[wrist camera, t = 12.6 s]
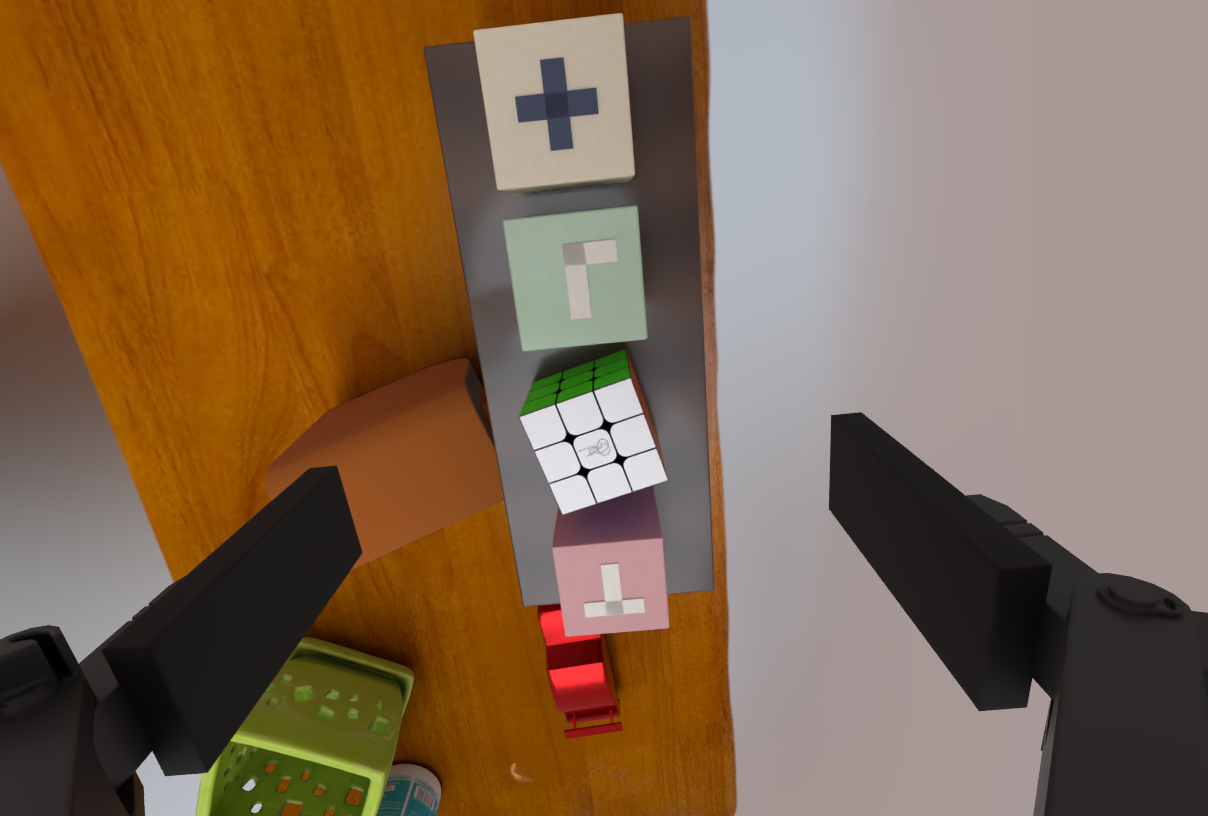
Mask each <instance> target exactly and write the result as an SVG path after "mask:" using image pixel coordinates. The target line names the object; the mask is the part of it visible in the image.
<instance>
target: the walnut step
mask: <svg viewBox="0 0 1208 816" xmlns="http://www.w3.org/2000/svg"><path fill="white" fill-rule="evenodd" d="M624 35H625V48H626V61H627V74H628V87H629V100H630V113H631V127H632V140H633V153H634V166H635V175H634V176H633V177H632V179H631V180H630V181H629V182H624V183H615V184H606V185H596V186H587V187H578V188H569V189H559V190H550V191H541V192H531V193H522V194H516V193H510V192H505V191H500V190H498V189H497V185H496V178H495V172H494V165H493V159H492V152H491V146H490V139H489V132H488V126H487V119H486V113H485V106H484V100H483V93H482V86H481V80H480V73H479V67H478V60H477V54H476V47H475V41H470V42H462V43H453V44H445V45H436V46H428V47H424V55H425V60H426V66H427V71H428V77H429V82H430V88H431V94H432V99H433V105H434V110H435V116H436V122H437V127H438V133H439V138H440V144H441V150H442V155H443V161H444V166H445V172H446V178H447V183H448V189H449V194H450V200H451V206H452V211H453V217H454V222H455V228H456V233H457V239H458V245H459V250H460V256H461V261H462V267H463V273H464V278H465V284H466V289H467V295H468V301H469V306H470V312H471V317H472V323H473V329H474V334H475V340H476V345H477V351H478V357H479V362H480V368H481V373H482V379H483V384H484V390H485V396H486V401H487V407H488V412H489V418H490V424H491V429H492V435H493V440H494V446H495V452H496V457H497V463H498V468H499V474H500V480H501V485H502V491H503V496H504V502H505V507H506V513H507V519H508V524H509V530H510V535H511V541H512V547H513V552H514V558H515V563H516V569H517V575H518V580H519V586H520V591H521V597H522V603H523V606H524V607H526V606H538V605H550V604H560V598H559V592H558V585H557V579H556V572H555V565H554V559H553V552H552V544H553V537H554V530H555V524H556V517H557V510H558V505H557V502H556V500H555V498H554V496H553V493H552V491H551V489H550V487H549V483H548V482H547V480H546V478H545V475H544V473H543V471H542V469H541V466H540V464H539V462H538V460H537V457H536V455H535V453H534V450H533V448H532V446H531V444H530V442H529V439H528V437H527V435H526V433H525V430H524V428H523V426H522V424H521V421H520V419H519V415H520V412H521V410H522V407H523V405H524V402H525V400H526V397H527V395H528V393H529V390H530V388H531V385H532V383H533V382H535V381H538V380H541V379H544V378H546V377H549V376H552V375H555V374H558V373H560V372H564V371H566V370H569V369H572V368H574V367H577V366H580V365H583V364H586V363H588V362H591V361H595V360H597V359H599V358H602V357H605V356H608V355H611V354H613V353H616V352H619V351H622V350H625V349H626V350H627V352H628V355H629V358H630V360H631V363H632V366H633V369H634V372H635V374H636V377H637V380H638V383H639V385H640V388H641V391H642V394H643V396H644V399H645V402H646V405H647V407H648V410H649V413H650V416H651V419H652V421H653V424H654V427H655V430H656V432H657V435H658V438H659V442H660V447H661V451H662V455H663V459H664V463H665V467H666V471H667V475H668V479H669V480H668V481H665V482H662V483H659V484H656V485H653V486H650V487H654V492H655V498H656V503H657V509H658V514H659V520H660V525H661V530H662V536H663V546H664V559H665V572H666V585H667V594H679V593H690V592H702V591H713V590H714V565H713V542H712V518H711V495H710V471H709V448H708V424H707V401H706V377H705V354H704V330H703V307H702V283H701V260H700V236H699V213H698V190H697V166H696V143H695V119H694V96H693V72H692V49H691V25H690V17H689V16H685V17H676V18H668V19H659V20H651V21H642V22H634V23H625V24H624ZM634 205H635V206H637V207H638V217H639V230H640V243H641V256H642V269H643V282H644V296H645V309H646V322H647V335H648V337H647V339H645V340H635V341H625V342H615V343H605V344H595V345H585V346H575V347H564V348H554V349H544V350H534V351H522V347H521V341H520V334H519V328H518V321H517V315H516V308H515V301H514V295H513V288H512V282H511V275H510V268H509V262H508V255H507V249H506V242H505V236H504V229H503V220H504V219H512V218H522V217H531V216H540V215H550V214H559V213H568V212H578V211H587V210H597V209H606V208H615V207H625V206H634Z"/></svg>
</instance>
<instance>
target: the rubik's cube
mask: <svg viewBox="0 0 1208 816" xmlns="http://www.w3.org/2000/svg"><path fill="white" fill-rule="evenodd" d="M519 419H520V421H521V424H522V426H523V428H524V430H525V433H526V435H527V437H528V439H529V442H530V444H531V446H532V448H533V450H534V453H535V455H536V457H537V460H538V462H539V464H540V466H541V469H542V471H543V473H544V475H545V478H546V480H547V482H548V483H549V487H550V489H551V491H552V493H553V496H554V498H555V500H556V502H557V505H558V507H559V509H560V511H561V514H562V515H564V514H567V513H571V512H574V511H577V510H580V509H583V508H586V507H589V506H592V505H595V504H597V503H601V502H604V501H607V500H610V499H613V498H616V497H619V496H622V495H625V494H629V493H632V491H633V492H635V491H638V490H641V489H644V488H647V487H650V486H653V485H656V484H659V483H662V482H665V481H668V480H669V479H668V475H667V471H666V467H665V463H664V459H663V455H662V451H661V447H660V442H659V438H658V435H657V432H656V430H655V427H654V424H653V421H652V419H651V416H650V413H649V410H648V407H647V405H646V402H645V399H644V396H643V394H642V391H641V388H640V385H639V383H638V380H637V377H636V374H635V372H634V369H633V366H632V363H631V360H630V358H629V355H628V352H627V350H626V349H625V350H622V351H619V352H616V353H613V354H611V355H608V356H605V357H602V358H599V359H597V360H595V361H591V362H588V363H586V364H583V365H580V366H577V367H574V368H572V369H569V370H566V371H564V372H560V373H558V374H555V375H552V376H549V377H546V378H544V379H541V380H538V381H535V382H533V383H532V385H531V388H530V390H529V393H528V395H527V397H526V400H525V402H524V405H523V407H522V410H521V412H520V415H519Z"/></svg>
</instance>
